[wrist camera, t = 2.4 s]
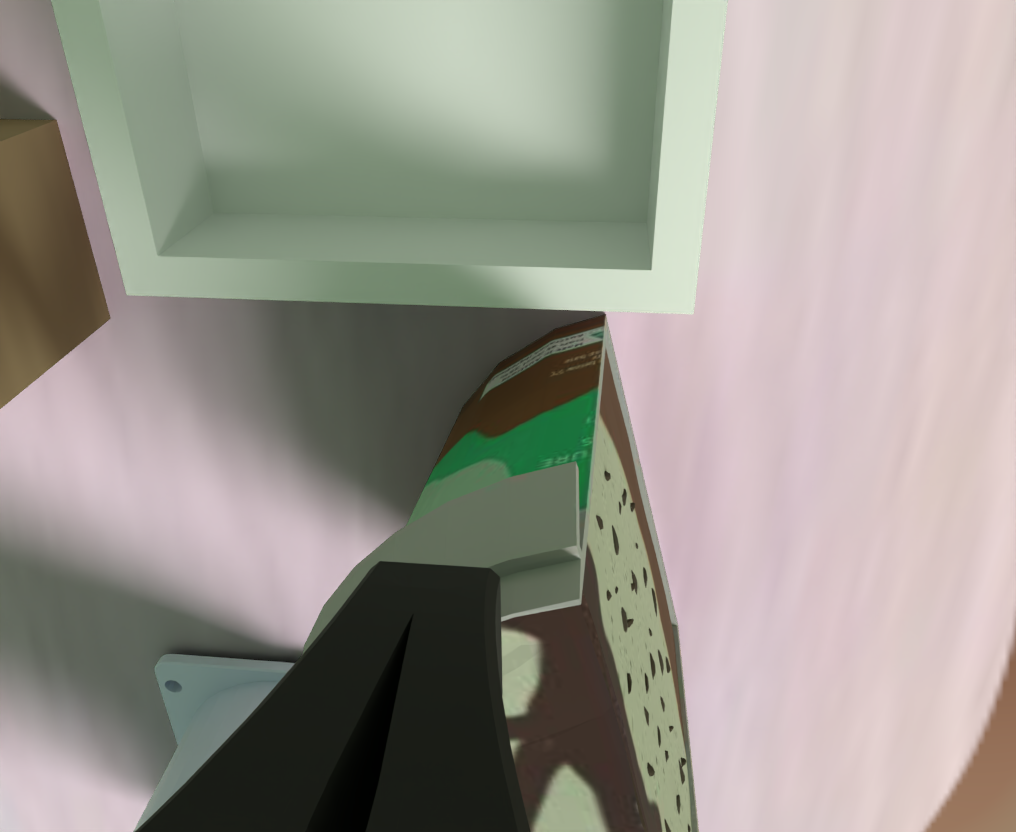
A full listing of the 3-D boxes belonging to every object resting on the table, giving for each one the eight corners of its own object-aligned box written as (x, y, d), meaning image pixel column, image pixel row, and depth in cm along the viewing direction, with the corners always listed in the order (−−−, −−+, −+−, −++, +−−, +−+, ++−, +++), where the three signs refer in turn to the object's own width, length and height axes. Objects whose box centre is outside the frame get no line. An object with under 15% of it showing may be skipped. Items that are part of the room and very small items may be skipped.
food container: (323, 308, 19) (93, 629, 11) (591, 249, 18) (568, 563, 9) (476, 686, 25) (405, 1089, 17) (687, 664, 24) (727, 1089, 15)
